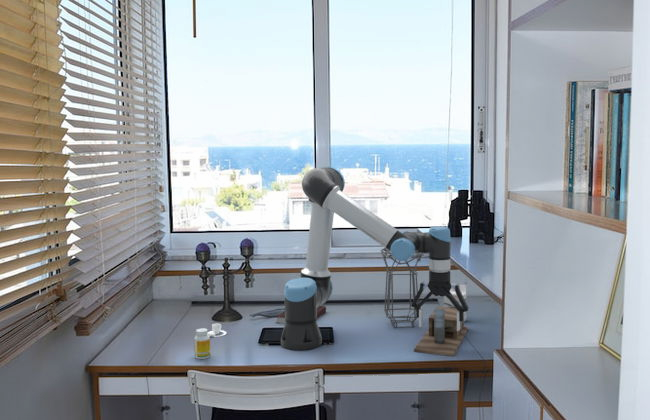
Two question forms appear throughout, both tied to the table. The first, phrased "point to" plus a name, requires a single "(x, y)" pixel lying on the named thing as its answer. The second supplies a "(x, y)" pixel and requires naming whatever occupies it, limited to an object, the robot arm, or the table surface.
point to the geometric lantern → (392, 288)
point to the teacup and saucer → (216, 330)
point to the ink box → (449, 304)
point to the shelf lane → (451, 338)
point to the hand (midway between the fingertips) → (439, 328)
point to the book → (320, 311)
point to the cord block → (441, 326)
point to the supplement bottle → (202, 344)
